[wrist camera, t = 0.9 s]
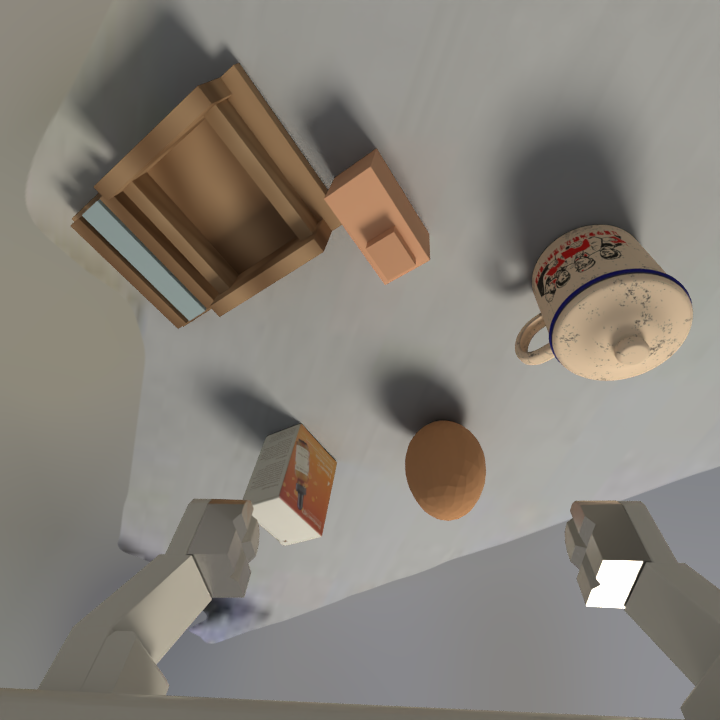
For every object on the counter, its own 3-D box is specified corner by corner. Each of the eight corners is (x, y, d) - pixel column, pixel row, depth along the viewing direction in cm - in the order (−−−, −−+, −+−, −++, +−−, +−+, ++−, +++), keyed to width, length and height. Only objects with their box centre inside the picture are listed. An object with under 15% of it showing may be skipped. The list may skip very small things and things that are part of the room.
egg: (417, 395, 49) (415, 481, 40) (491, 411, 49) (506, 499, 41) (399, 444, 54) (394, 530, 46) (466, 458, 55) (474, 546, 46)
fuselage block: (376, 147, 34) (368, 171, 29) (429, 233, 38) (430, 267, 33) (334, 177, 36) (320, 204, 31) (388, 257, 40) (384, 292, 35)
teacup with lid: (610, 195, 34) (676, 265, 25) (664, 275, 38) (740, 362, 29) (478, 288, 40) (494, 371, 31) (535, 350, 44) (565, 441, 35)
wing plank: (107, 194, 38) (97, 200, 36) (211, 302, 43) (205, 310, 42) (92, 208, 38) (81, 215, 37) (195, 312, 44) (189, 321, 43)
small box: (338, 461, 58) (323, 538, 49) (303, 473, 60) (283, 548, 52) (301, 421, 54) (278, 497, 45) (265, 435, 56) (237, 509, 48)
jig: (239, 63, 32) (212, 71, 28) (346, 217, 38) (337, 243, 34) (79, 213, 40) (41, 237, 36) (188, 320, 46) (165, 350, 42)
